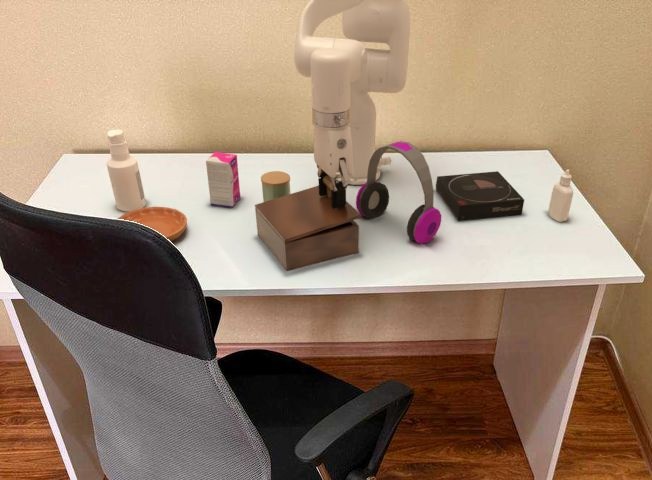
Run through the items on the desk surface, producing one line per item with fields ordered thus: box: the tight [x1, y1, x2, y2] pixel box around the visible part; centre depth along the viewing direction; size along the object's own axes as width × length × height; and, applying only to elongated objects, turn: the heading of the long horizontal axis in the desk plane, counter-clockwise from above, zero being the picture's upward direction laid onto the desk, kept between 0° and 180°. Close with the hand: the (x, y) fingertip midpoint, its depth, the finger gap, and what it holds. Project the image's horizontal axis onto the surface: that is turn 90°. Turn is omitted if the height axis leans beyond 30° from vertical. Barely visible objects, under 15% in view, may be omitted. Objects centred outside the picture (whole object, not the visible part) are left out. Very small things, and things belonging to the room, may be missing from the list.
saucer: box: [117, 206, 188, 243], centre depth 148 cm, size 16×16×3 cm
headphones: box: [355, 140, 442, 245], centre depth 147 cm, size 21×9×20 cm, turn 45°
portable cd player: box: [435, 170, 525, 222], centre depth 164 cm, size 16×17×4 cm
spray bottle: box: [106, 129, 147, 212], centre depth 153 cm, size 7×7×18 cm
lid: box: [254, 175, 362, 243], centre depth 139 cm, size 17×17×6 cm
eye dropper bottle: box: [547, 169, 574, 223], centre depth 156 cm, size 4×6×12 cm
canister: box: [260, 170, 292, 203], centre depth 154 cm, size 7×7×10 cm
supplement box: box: [205, 151, 241, 209], centre depth 158 cm, size 6×6×12 cm
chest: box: [254, 207, 360, 272], centre depth 144 cm, size 17×17×7 cm
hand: (332, 199), depth 142 cm, fingers closed on lid, 5 cm apart
